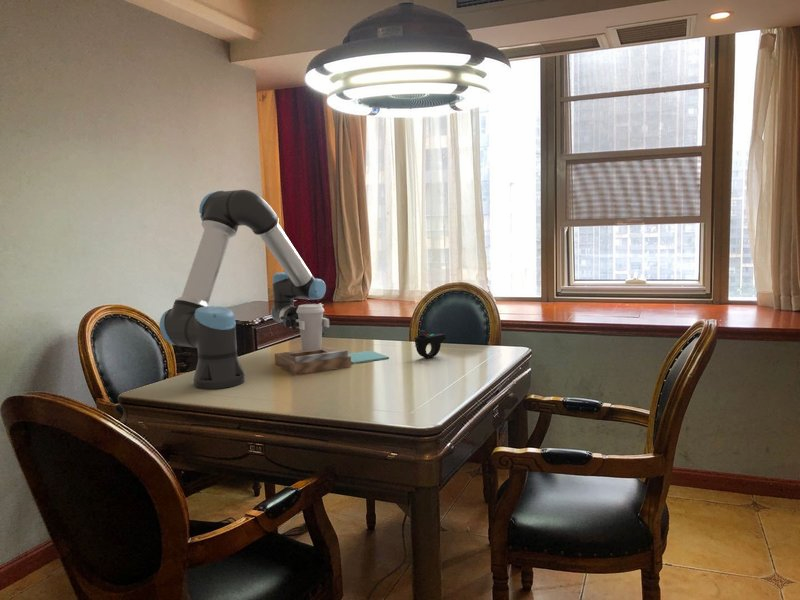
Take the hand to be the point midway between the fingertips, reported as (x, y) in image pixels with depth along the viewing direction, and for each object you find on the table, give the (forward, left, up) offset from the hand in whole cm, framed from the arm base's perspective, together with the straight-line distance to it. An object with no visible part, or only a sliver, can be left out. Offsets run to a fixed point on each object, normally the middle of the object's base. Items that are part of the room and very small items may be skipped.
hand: (316, 324), depth 213 cm
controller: (+39, -9, -15) cm, 43 cm away
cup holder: (0, +5, -15) cm, 15 cm away
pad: (+19, +5, -15) cm, 24 cm away
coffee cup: (0, +5, -9) cm, 10 cm away
